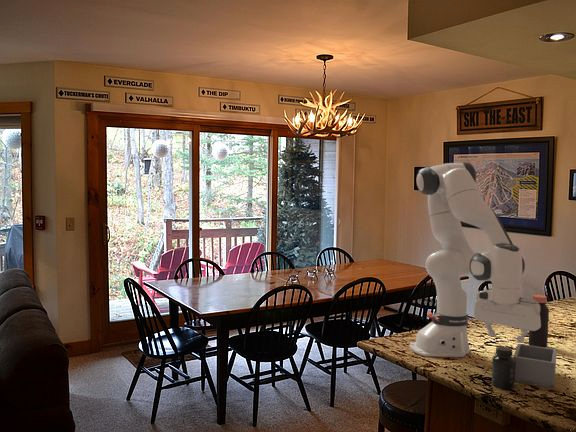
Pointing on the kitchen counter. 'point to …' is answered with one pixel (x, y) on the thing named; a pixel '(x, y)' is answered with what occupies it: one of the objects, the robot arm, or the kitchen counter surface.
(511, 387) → the supplement bottle
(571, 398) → the kitchen counter surface
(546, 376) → the walled bin
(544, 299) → the vinegar
